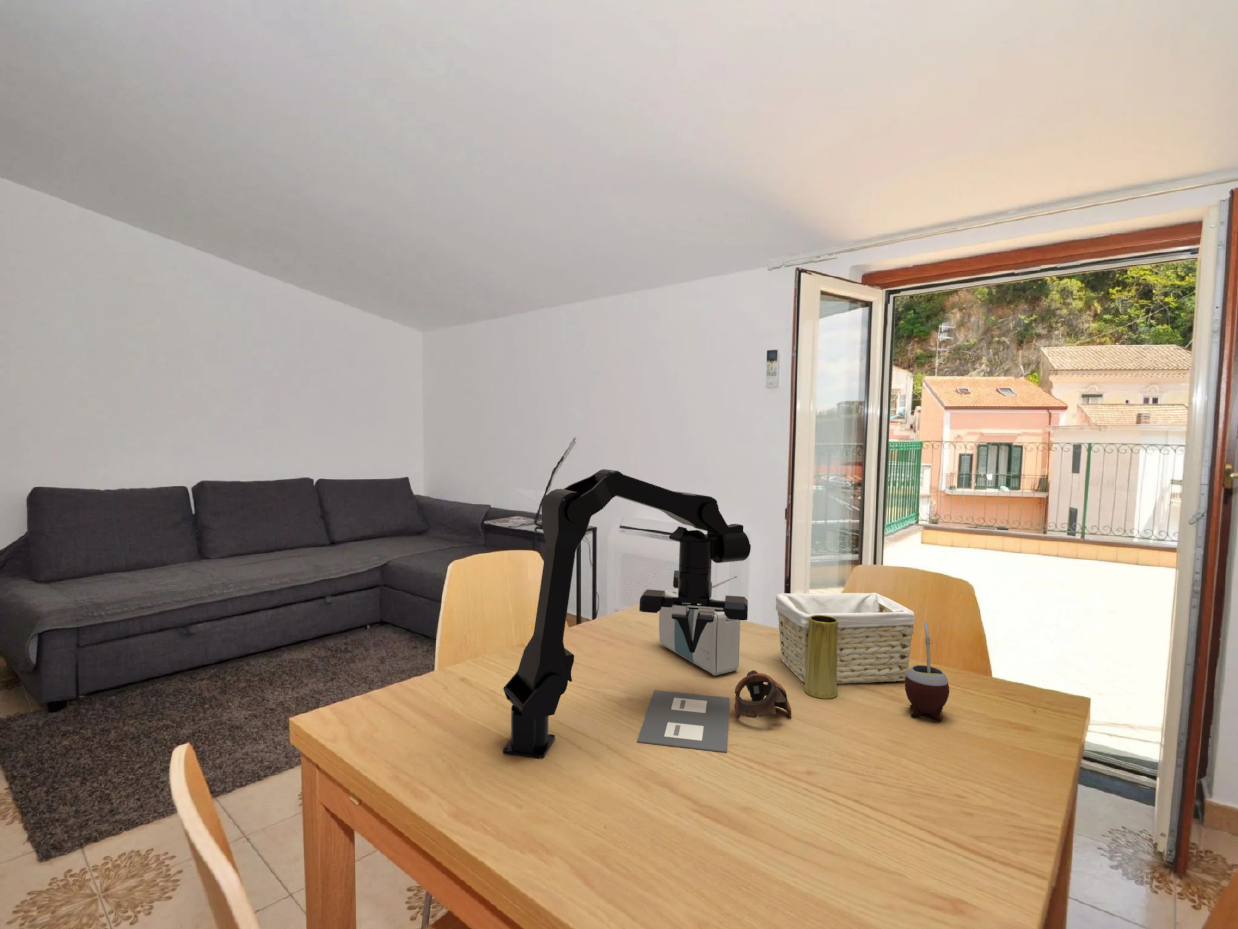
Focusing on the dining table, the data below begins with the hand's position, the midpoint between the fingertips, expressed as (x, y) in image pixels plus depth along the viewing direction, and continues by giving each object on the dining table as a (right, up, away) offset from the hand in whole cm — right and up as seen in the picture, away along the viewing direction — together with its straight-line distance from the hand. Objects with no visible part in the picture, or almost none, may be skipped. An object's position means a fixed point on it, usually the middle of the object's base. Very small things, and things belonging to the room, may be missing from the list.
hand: (692, 652), depth 111 cm
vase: (+25, -10, +8) cm, 29 cm away
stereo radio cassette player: (+4, -9, +24) cm, 26 cm away
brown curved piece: (+12, -11, -2) cm, 16 cm away
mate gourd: (+41, -11, 0) cm, 43 cm away
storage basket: (+33, -10, +19) cm, 39 cm away
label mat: (-1, -10, -4) cm, 11 cm away
